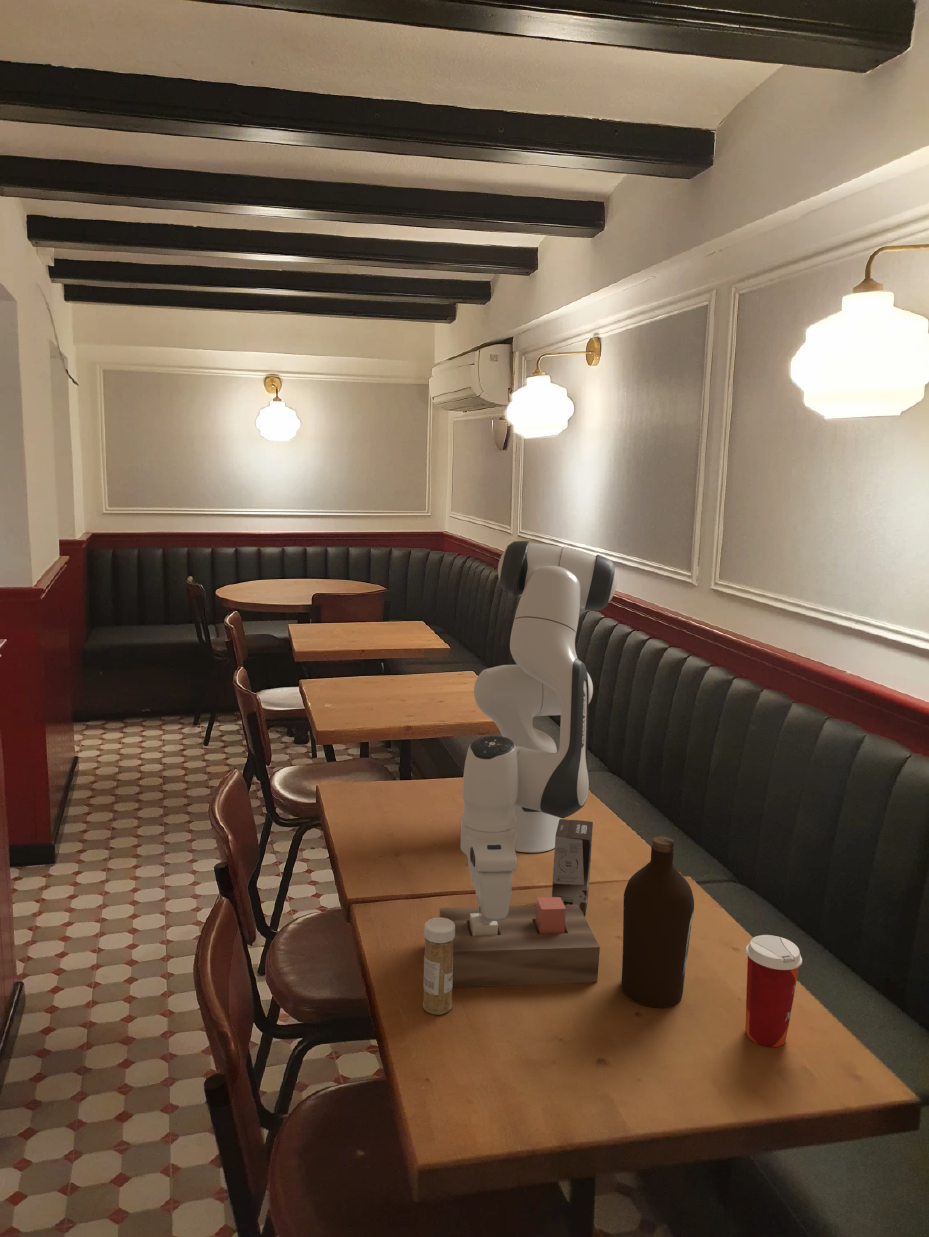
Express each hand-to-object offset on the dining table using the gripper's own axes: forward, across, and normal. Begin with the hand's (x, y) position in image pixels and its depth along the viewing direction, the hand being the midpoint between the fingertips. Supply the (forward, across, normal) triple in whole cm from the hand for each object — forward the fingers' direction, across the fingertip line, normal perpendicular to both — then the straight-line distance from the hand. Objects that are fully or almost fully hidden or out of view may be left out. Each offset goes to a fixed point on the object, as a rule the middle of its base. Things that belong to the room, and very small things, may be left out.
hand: (484, 919), depth 148 cm
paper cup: (+8, +22, +38) cm, 45 cm away
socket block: (+8, 0, +5) cm, 9 cm away
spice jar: (+8, +12, -9) cm, 17 cm away
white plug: (+6, 0, 0) cm, 6 cm away
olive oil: (+8, +10, +25) cm, 28 cm away
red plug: (+3, 0, +11) cm, 11 cm away
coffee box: (+8, -16, +18) cm, 26 cm away
